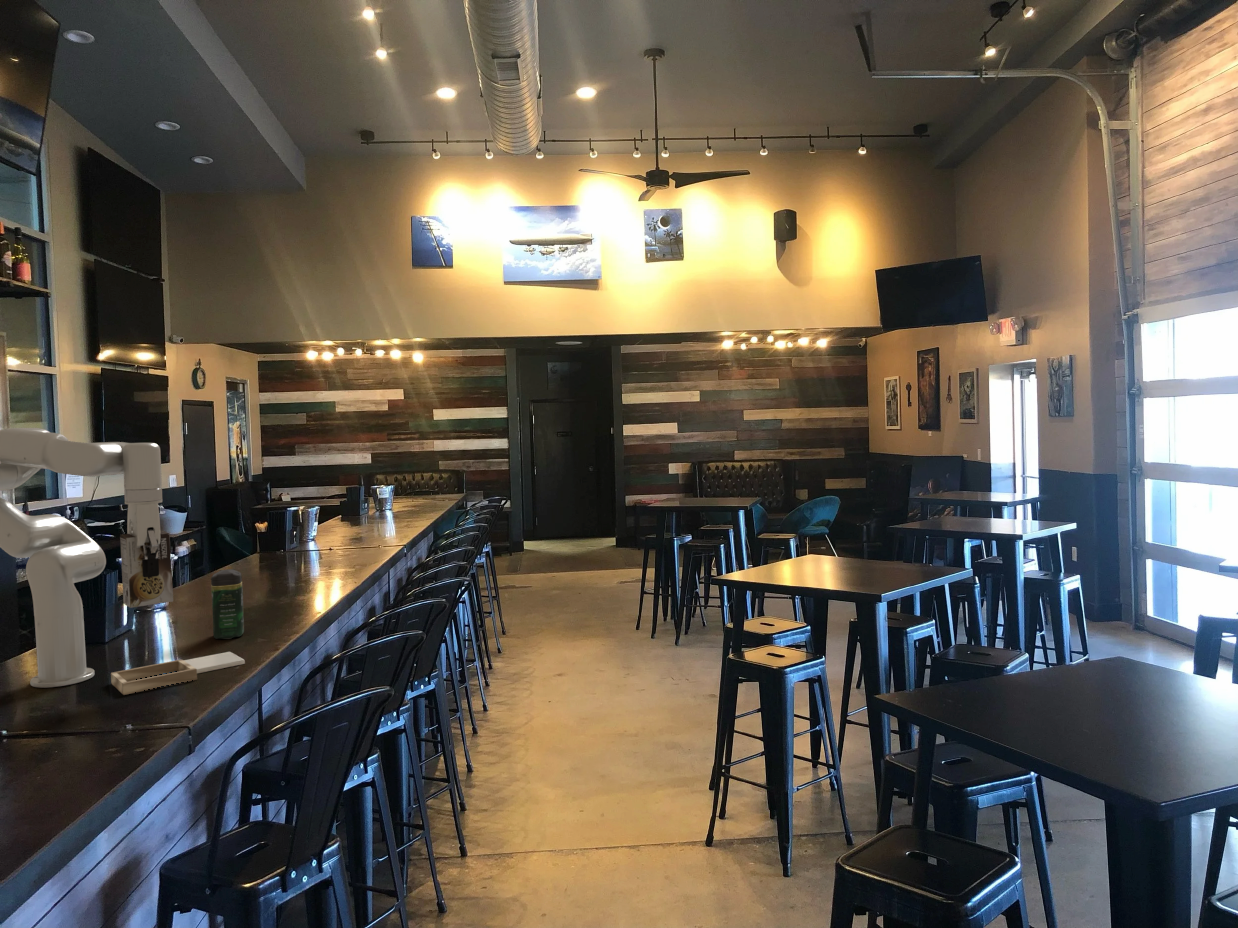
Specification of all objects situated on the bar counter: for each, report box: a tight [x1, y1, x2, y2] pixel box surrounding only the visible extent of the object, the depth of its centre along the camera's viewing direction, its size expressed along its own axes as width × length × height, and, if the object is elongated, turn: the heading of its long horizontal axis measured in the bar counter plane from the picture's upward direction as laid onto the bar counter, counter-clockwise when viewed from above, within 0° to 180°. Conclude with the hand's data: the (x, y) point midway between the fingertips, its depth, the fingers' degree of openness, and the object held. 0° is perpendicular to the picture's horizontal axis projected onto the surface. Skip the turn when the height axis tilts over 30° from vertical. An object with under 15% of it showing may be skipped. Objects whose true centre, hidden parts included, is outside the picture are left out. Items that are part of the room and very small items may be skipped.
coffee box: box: [119, 530, 174, 609], centre depth 195 cm, size 9×6×16 cm
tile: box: [183, 651, 246, 674], centre depth 209 cm, size 11×11×1 cm
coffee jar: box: [210, 568, 245, 640], centre depth 238 cm, size 10×8×19 cm
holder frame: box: [110, 658, 198, 696], centre depth 196 cm, size 12×15×2 cm
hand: (146, 573), depth 195 cm, fingers closed on coffee box, 6 cm apart
